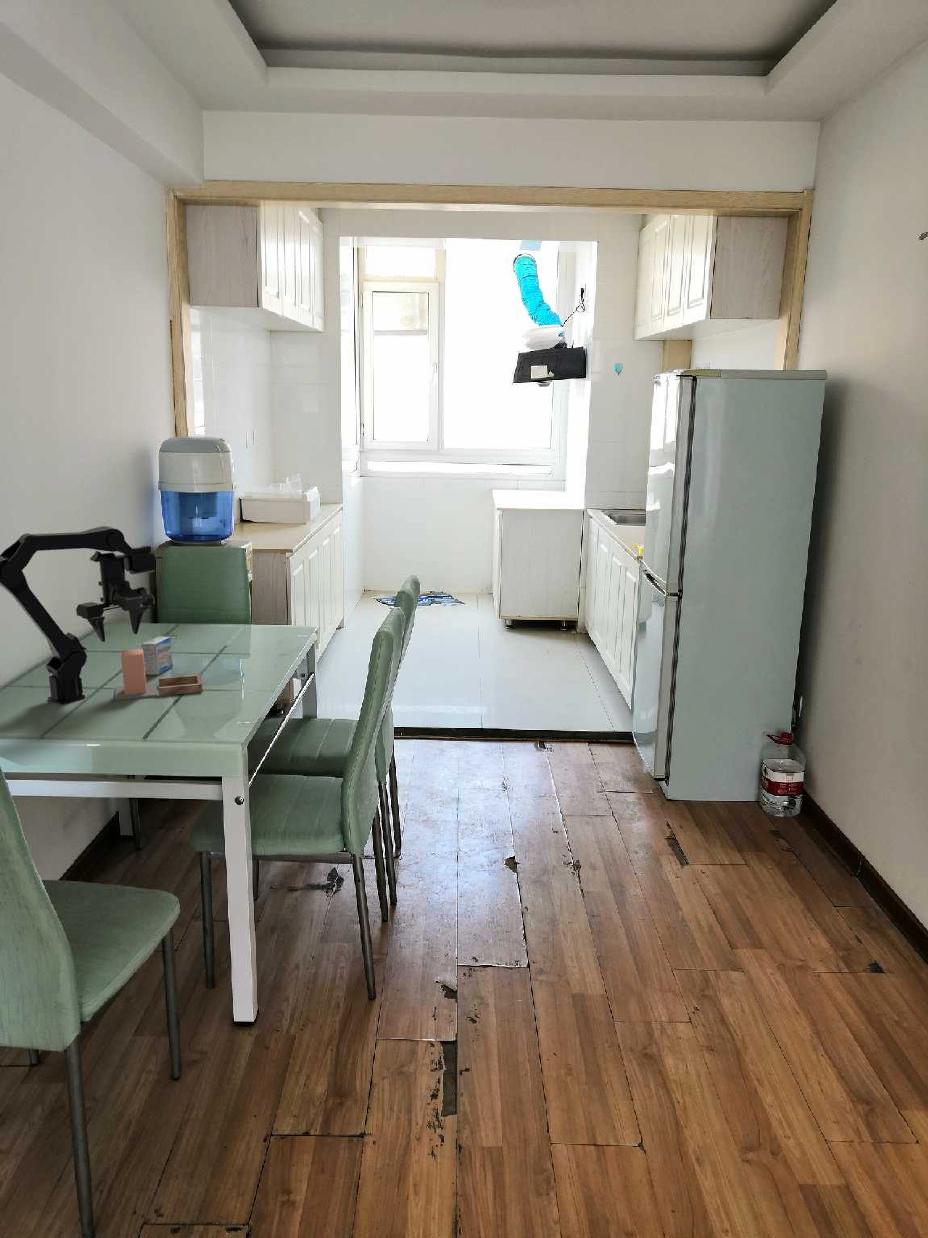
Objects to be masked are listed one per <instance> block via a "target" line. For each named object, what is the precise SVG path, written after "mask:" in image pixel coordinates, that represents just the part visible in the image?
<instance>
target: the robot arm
mask: <svg viewBox="0 0 928 1238" xmlns="http://www.w3.org/2000/svg"><path fill="white" fill-rule="evenodd" d="M75 549H76V550H77V549H80V550H81V549H89V550H96V551H95V552H94V554H93V555H92V556H91V557H89V560H90V561H92V562H94V563H99V571H100V581H98V587H101V591H102V597H99V599H100V603H98V602H94V601H88V602H84V603H79V604H77V607H75V612H76V616H77V617H80V618H82V619H84V620H86V621H87V622H88V623H89V625H91V627H92V629H93V630H94V632H95V633H96V635H97V637H98V638H99V640H100V642H102V643H105V642H106V633H105V626H104V621H105V619H106V616H104V613H105V612H106V611H111V610H114V609H115V610H116V609H120V608H121V610H123V611H124V612H128V615H129V621H130V626H131V629H132V632H133V634H134V635H137V634H138V632H139V629H140V624H141V621H142V618H143V616H144V613H146V611H147V610H150V608H151V606H154V605H155V597H154V596H153V594H152V593H150V592H149V593H148V592H147V588H145V587H144V586H141V587H137V588H133V589H132V587H131V583H130V580H126V572H129V574H130V575H139V574H140V575H141V574H148V573H153V572H156V569H157V559H156V557H155V554H154V553H153V551H152V547H151V546H150V545H142V546H137V547H131V545H130V544H129V543H128V542H126V540H125V535H124V533H123V532H122V531H121V530H120V529H118V528H114V527H111V526H107V525H103V526H98V527H93V528H89V529H87V530H83V531H77V532H55V533H54V532H53V533H52V532H50V533H29V532H28V533H23V534H22V535H21V536H19V538H18V539H17V540H16V541H15V542H13V543H12V544H11V545H10V546H8V547H7V548H6V549H4V550H3V551H2V552H1V554H0V586H1V587H2V588H3V589H4V590H5V591H6V592H8V593H9V594H10V595H11V596H12V597H13V598H14V599H15V601H16V602H17V603H18V605H19V606H20V607H21V609H22V610H23V611H24V612H25V613H26V615H27V616H28V617H29V619H30V620H31V622H33V624H34V625H35V626H36V628H37V629H38V630H39V632H40V633H41V634H42V635H43V637H44V638H45V639H46V641H47V644H48V646H49V650H50V651H51V654H52V657H51V658H50V659H49V661H48V662H47V663H46V664H45V668H46V670H47V672H48V673H49V674H51V675H50V676H48V679H49V690H50V696H47V699H48V700H49V701H52V702H54V703H57V704H60V705H63V704H67V703H71V702H75V701H79V700H81V699H85V698H86V695H85V694H83V693H84V688H83V679H82V677H81V673H82V669H83V667H85V664H86V663H87V659H88V656H87V655H88V654H87V652H86V651H87V648H86V647H84V645H82V643H81V641H80V640H79V638H78V637H77V636H76V635H75V634H72V633H71V632H67V633H64V631H63V630H62V628H60V626H59V625H58V624H57V623H56V621H55V620H54V619H53V617H52V616H51V614H50V613H49V612H48V611H47V609H46V608H45V607H44V605H43V604H42V603H41V601H40V600H39V599H38V597H37V596H36V595H35V594H34V593H33V591H32V589H30V587H29V583H28V581H27V577H26V576H25V574H24V571H23V570H24V569H25V568H26V567H27V565H28V564H29V563H30V562H31V560H32V558H33V556H35V554H36V553H37V552H40V551H41V552H43V551H58V550H75ZM101 551H103V552H105V553H101ZM115 552H118V553H119V554H118V555H117V554H115ZM120 553H121V554H120ZM48 700H47V701H48Z"/></svg>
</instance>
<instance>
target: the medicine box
mask: <svg viewBox="0 0 928 1238" xmlns="http://www.w3.org/2000/svg"><path fill="white" fill-rule="evenodd" d="M171 639H172V638H171V637H170V636H155V637H154V638H151V639H150V640H148V641H145V642H144V643H141V649H143V653H144V664H145V675H149V676H150V675H152V676H160V675H162V674H164V673H165V672H167V671H169V670H170V669H172V668H173V667H174V663H173V662H174V661H173V652H172V651H173V650H172V649H173V648H172V641H171ZM168 669H169V670H168Z"/></svg>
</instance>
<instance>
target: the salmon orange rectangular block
mask: <svg viewBox="0 0 928 1238" xmlns="http://www.w3.org/2000/svg"><path fill="white" fill-rule="evenodd" d="M120 657H121V669H122V679H123V686H124V690H125V695H127V694H138V693H146V684H147V677H146V675H147V674H145V664H144V653H143V649H142V648H141V649H139V648H138V649H129V650H127V649H126V650H125V649H124V650H122V651H121V655H120Z"/></svg>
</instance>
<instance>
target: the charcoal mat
mask: <svg viewBox="0 0 928 1238" xmlns="http://www.w3.org/2000/svg"><path fill="white" fill-rule="evenodd" d="M157 697H158V683H157V682H154V683H146V693H138V694H127V695H125V690H124V685H121V686H119V685H118V686H115V689H114V695H113V701H115V702H116V701H125V700H135V699H136V700H138V699H148V698H157ZM137 698H138V699H137Z"/></svg>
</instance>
